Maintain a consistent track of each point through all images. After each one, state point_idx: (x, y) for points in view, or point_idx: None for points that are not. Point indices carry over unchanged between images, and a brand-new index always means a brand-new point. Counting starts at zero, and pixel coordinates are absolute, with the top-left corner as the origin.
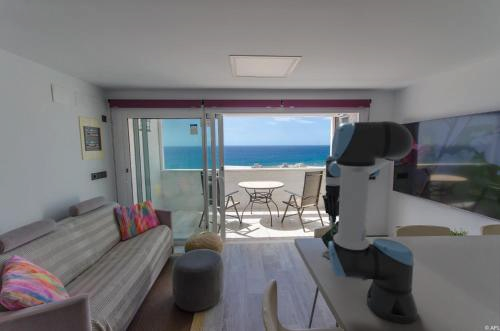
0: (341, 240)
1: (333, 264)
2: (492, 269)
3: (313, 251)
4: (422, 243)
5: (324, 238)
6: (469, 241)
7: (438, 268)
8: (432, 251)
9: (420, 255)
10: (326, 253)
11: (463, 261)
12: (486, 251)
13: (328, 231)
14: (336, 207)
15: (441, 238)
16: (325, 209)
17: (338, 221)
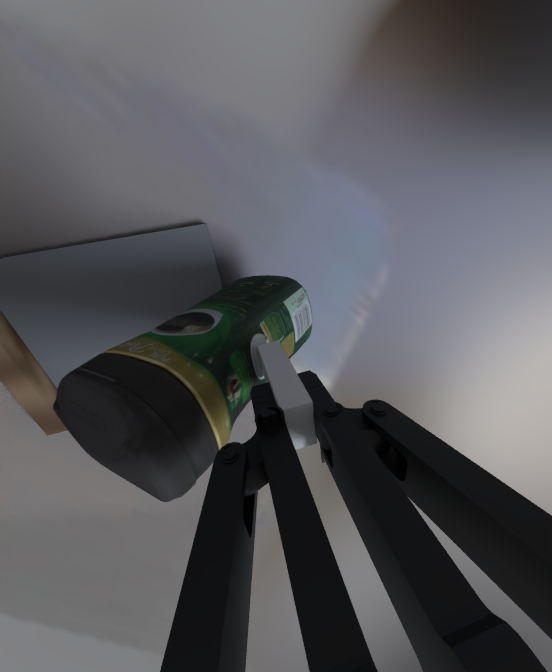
0: None
1: None
2: (23, 616)
3: (263, 206)
4: None
5: (268, 282)
6: None
7: (34, 535)
8: (147, 563)
9: (128, 533)
10: (208, 248)
11: (75, 591)
12: (123, 635)
13: (258, 314)
14: (219, 629)
15: None
16: (416, 428)
17: (151, 411)
